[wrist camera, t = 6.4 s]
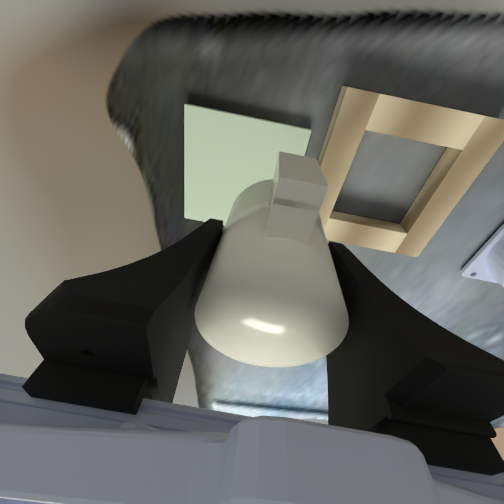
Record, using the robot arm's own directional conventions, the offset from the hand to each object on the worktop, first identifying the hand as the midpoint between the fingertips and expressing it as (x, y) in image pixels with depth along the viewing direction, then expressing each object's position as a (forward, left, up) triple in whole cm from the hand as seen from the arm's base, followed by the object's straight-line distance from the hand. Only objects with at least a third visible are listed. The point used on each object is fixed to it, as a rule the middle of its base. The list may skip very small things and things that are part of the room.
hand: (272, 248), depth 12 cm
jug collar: (-8, -1, -10) cm, 13 cm away
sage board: (+3, +1, -10) cm, 10 cm away
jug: (0, 0, -2) cm, 2 cm away
